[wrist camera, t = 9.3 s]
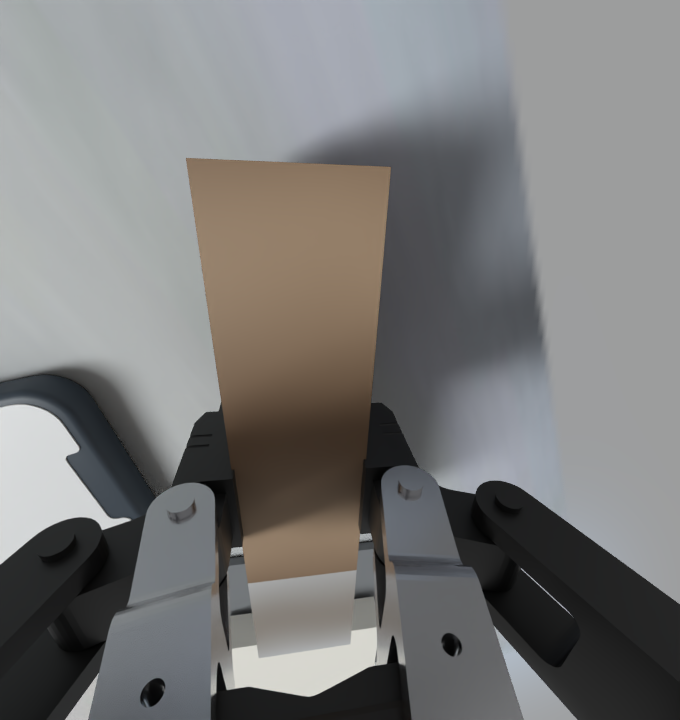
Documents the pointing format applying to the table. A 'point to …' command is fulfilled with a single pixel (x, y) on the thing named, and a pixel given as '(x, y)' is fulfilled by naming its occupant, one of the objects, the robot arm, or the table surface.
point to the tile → (304, 657)
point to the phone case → (60, 462)
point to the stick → (294, 375)
